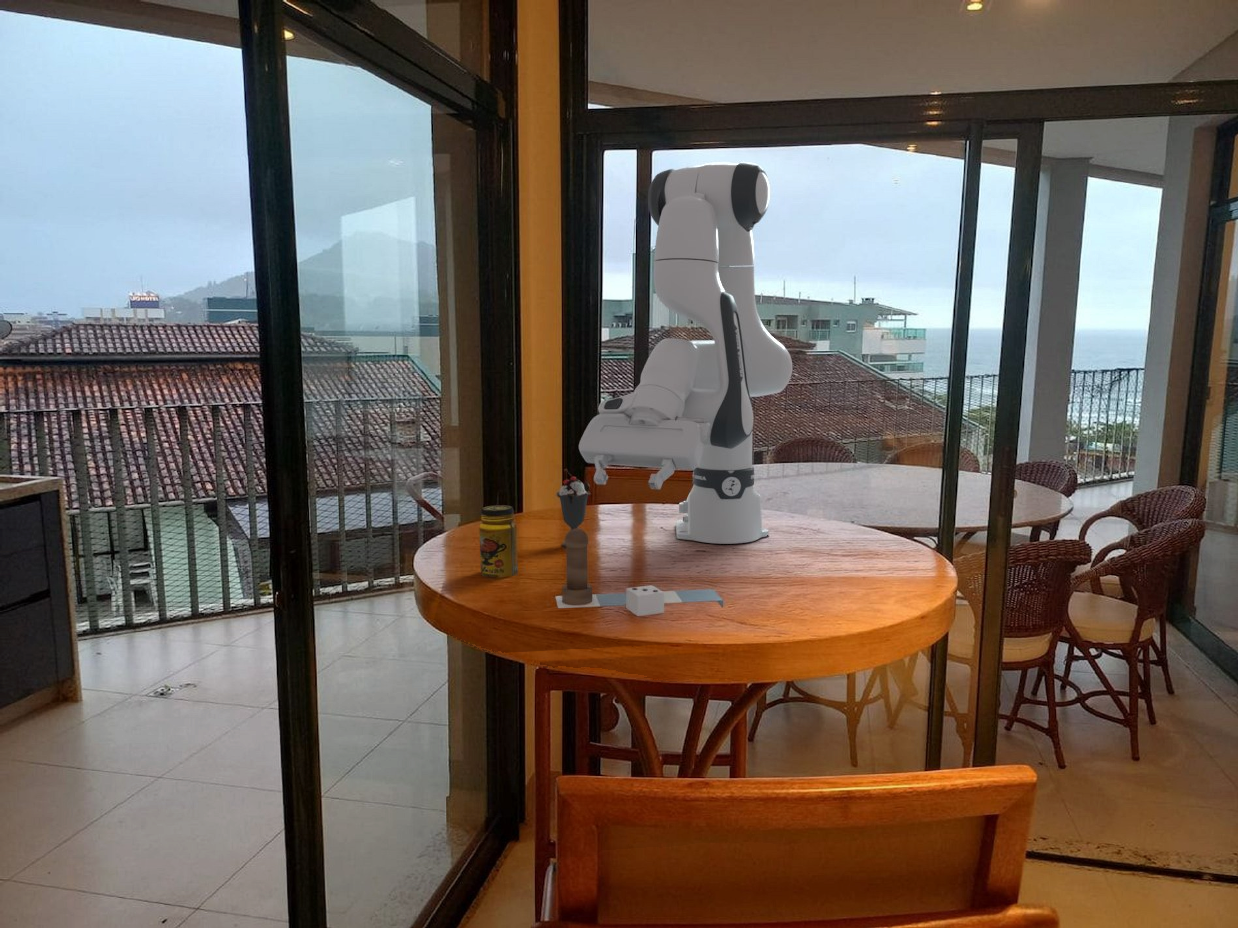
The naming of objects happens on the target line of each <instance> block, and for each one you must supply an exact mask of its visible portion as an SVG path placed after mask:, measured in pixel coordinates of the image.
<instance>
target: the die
mask: <svg viewBox="0 0 1238 928" xmlns="http://www.w3.org/2000/svg"><path fill="white" fill-rule="evenodd" d="M625 590H626V591H625V593H626V605H625V606H626V608H625V609H627V610H628V611H630V612H631V614H632V613H633V614H634V615H635V616H637V617H642V616H650V615H657V614H664V613H665V603H664V592H663V591H662V590H661V589H660V588H658V587H656V586H654V585H653V584H652V585H644V586H635V587H634V586H633V587H627V588H625Z"/></svg>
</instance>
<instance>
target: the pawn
mask: <svg viewBox="0 0 1238 928" xmlns="http://www.w3.org/2000/svg"><path fill="white" fill-rule="evenodd" d="M564 542H565V544H566V547H565V549H566V554H565V555H566V584H564V585H563V586H562V587H561V596H562V602H563V603H564V604H567V605H585V604H589V603H591V602H592V594H593V586H592V585H590V584H588V545H589V536H588V534H587V533H586V531H584V530H583V529H581V528H577V529H572V530H571V529H570V530H568V532H566V534H565V537H564Z"/></svg>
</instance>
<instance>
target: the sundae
mask: <svg viewBox="0 0 1238 928" xmlns="http://www.w3.org/2000/svg"><path fill="white" fill-rule="evenodd" d="M563 471H564V472H565V480H563V484H564V485H562V486H561V487H560V488H559V491H557V492H556V496H557V497H558V498H559V500H560V505H561V506H560V507H561V513H562V514H561V515H562V517H563V521H564V523H565V524H566V525H567V526H568V527H570V530H572V529H579V527H580V526H581V525H582V524H583V522H584V521H585V518H586V512H587V511H586V510H587V505H588V503H587V502H588V497H589V496H590V495H591V494H592V493H591V492H590V491H589V490H590V483H589V482H588V481H585V483H583V482H582V481H581V480H580V479H577V477H576V476H572V474H571V473H569V471H568V469H567V468H565V469H564V468H563ZM567 473H568V474H567ZM568 475H569V476H570V478H569V479H568ZM561 546H562V547H564V548H566V544H565V541H564V542H562V543H561Z"/></svg>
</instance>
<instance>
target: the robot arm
mask: <svg viewBox="0 0 1238 928" xmlns="http://www.w3.org/2000/svg"><path fill="white" fill-rule="evenodd" d="M770 189H771V188H770V183H769V179H768V176H767V173H766V171H765V169H763V167H762V166H761V165H759V164H757V163H754V162H747V161H740V162H738V163H733V162H710V163H704V164H701V165H695V166H687V167H682V168H678V169H677V168H670V169H667V170H663V171H661V172H659V173H657V174H656V175H655V176H654V178H653V179H652V180H651V183H650V185H649V186H648V193H647V204H648V210H649V211H648V212H649V214H650V217H651V218H652V220H653V222H654V223H655V224H656V225H657V230H656V231H657V232H656V237H655V248H654V259H653V285H654V290H655V291H654V292H655V294H656V296H657V298H658V300H659V301H660V302H661V303H662V304H663V306H664V307H666V308H667V309H668V310H670V312H672V313H674V314H676V315H677V316H680V317H683V318H685V319H687V320H690V321H691V322H694V323H696V324H698V325H700V326H701V327H702V328H704V329H705V330H707V331H708V332H709V334H710V335H711V337H712V338H713V340H706V339H705V340H702V339H700V340H698V339H697V340H696V339H695V340H687V339H684V338H680V337H668V338H664V339H662V340H660V341H659V342H657V344H656V345H655V346H654V348H653V350H652V351H651V353H650V354H649V356H648V358H647V360H646V362H645V364H644V367H643V368H642V371H641V374H640V383H638V385H637V386H636V387H635V389H634V391H633V392H631V393H629V394H626V395H623V396H619V397H615V398H611V399H606V400H603V401H601V402H600V403H599V405H598V408H597V410H598V412H599V414H597V415H596V416H593V418H592V419H591V420H590V422H589V423H588V425H587V426H586V428H585V430H584V432H583V434H582V436H581V438H580V440H579V444H578V450H579V453H580V455H581V456H582V458H583V459H584V461H585V462H586V463H587V464H594V466H595V470H596V471H595V473H594V476H593V481H594V482H595V484H596V485H602V486H603V485H606V484H607V482H608V479H609V476H608V474H607V472H606V470H605V469H607V466H608V465H613V466H623V467H624V466H625V467H638V468H639V467H641V468H652V469H654V468H655V469H659V470H658V471H657V472H656V473H651V474H650V476H649V479H648V486H649V488H650V489H651V490H661V488H662V485H663V483H664V482H665V481H666V480H667V479H669V478H670V477H671V476H672V475H673V474H674V473H675V470H679V471H680V470H681V471H693V472H692V484H693V486H692V487H691V489H690V492H689V494H688V496H687V498H686V500H683V501H682V502H679V503H678V511H679V512H678V513H679V514H681V515H682V514H685V515H683V516H682V519H678V520H676V523H675V533H676V535H675V537H676V538H677V539H678V540H686V541H695V542H701V543H709V544H719V545H721V544H723V545H724V544H727V545H728V544H730V545H732V544H743V543H744V544H745V543H750V542H751V543H752V542H755V541H757V540H759V539H761V538H765V537H768V536H767V535H769V536H770V530H769V529H767V528H764V527H763V516H762V515H763V513H762V511H763V510H762V497H761V494H759V492H757V491H756V490H755V488H754V485H755V477H756V476H755V475H756V474H755V468H754V466H753V427H754V411H753V405H752V400H751V397H753V398H757V397H764V396H769V395H773V394H777V393H778V394H779V393H781V392H782V391H783V390H784V389H785V388H786V387H787V385H788V384H789V382H790V380H791V378H792V375H793V362H792V361H793V360H792V357H791V354H790V352H789V351H788V349H787V348H786V347H785V345H783V344H782V343H781V342H780V341H778V340H777V339H776V338H774V336H772V335H771V333H770V332H769V331H768V330H767V328H766V327H765V325H764V324H763V322H762V320H761V318H760V315H759V312H758V308H757V303H756V302H757V301H756V291H755V250H754V249H755V248H754V239H753V231H752V230H753V229H754V227H755V226H756V224H758V223H759V222H760V221H761V220H762V219H763V217H764V216H765V214H766V212H767V211H768V207H769V202H770V194H771V192H770V191H771V190H770Z"/></svg>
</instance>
